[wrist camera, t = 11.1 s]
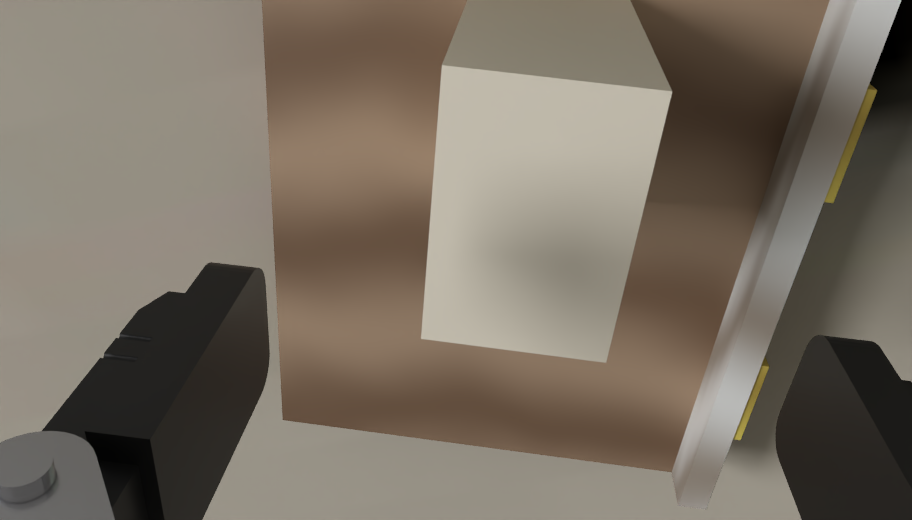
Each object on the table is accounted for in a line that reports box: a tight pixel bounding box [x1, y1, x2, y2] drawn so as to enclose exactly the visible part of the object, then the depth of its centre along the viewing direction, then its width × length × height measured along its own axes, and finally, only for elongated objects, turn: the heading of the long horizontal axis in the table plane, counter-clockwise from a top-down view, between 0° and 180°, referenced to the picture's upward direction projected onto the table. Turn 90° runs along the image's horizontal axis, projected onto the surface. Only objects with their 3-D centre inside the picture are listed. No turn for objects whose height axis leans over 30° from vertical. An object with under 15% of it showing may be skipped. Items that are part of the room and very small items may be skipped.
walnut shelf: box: [262, 0, 901, 509], centre depth 21 cm, size 28×16×4 cm, turn 175°
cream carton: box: [421, 0, 672, 363], centre depth 18 cm, size 6×4×8 cm
